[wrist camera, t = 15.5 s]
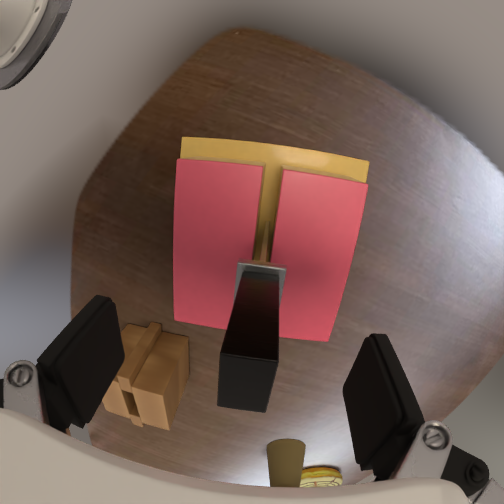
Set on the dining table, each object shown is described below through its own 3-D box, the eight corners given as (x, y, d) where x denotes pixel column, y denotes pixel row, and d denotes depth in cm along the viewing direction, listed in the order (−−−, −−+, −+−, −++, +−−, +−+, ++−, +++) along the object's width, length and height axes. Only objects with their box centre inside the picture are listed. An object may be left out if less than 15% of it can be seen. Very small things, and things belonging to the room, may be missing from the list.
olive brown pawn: (301, 436, 34) (302, 500, 23) (308, 452, 35) (309, 509, 25) (261, 441, 35) (255, 503, 24) (272, 457, 37) (268, 512, 26)
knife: (248, 256, 24) (208, 411, 9) (253, 215, 22) (210, 342, 8) (276, 260, 24) (272, 419, 9) (283, 219, 22) (291, 353, 8)
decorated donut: (289, 485, 42) (289, 499, 38) (284, 467, 38) (283, 484, 35) (339, 479, 40) (341, 494, 37) (342, 461, 37) (344, 478, 33)
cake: (177, 298, 26) (157, 331, 21) (183, 136, 21) (156, 135, 16) (331, 320, 26) (340, 357, 21) (368, 161, 20) (393, 166, 15)
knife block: (135, 366, 31) (108, 415, 23) (126, 315, 28) (88, 365, 20) (190, 379, 31) (170, 435, 23) (188, 329, 28) (161, 388, 20)
